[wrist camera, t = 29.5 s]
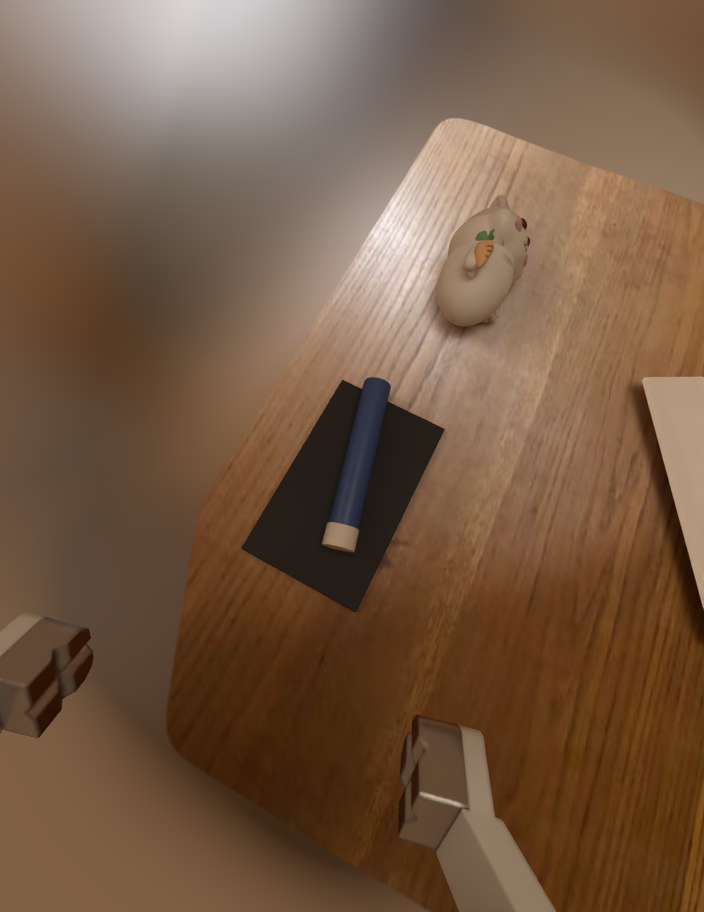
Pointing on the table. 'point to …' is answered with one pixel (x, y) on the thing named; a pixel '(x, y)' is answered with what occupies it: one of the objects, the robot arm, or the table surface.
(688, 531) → the beige flat square slab
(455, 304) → the cat figurine
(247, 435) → the table surface
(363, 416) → the marker
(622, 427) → the table surface
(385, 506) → the mat
